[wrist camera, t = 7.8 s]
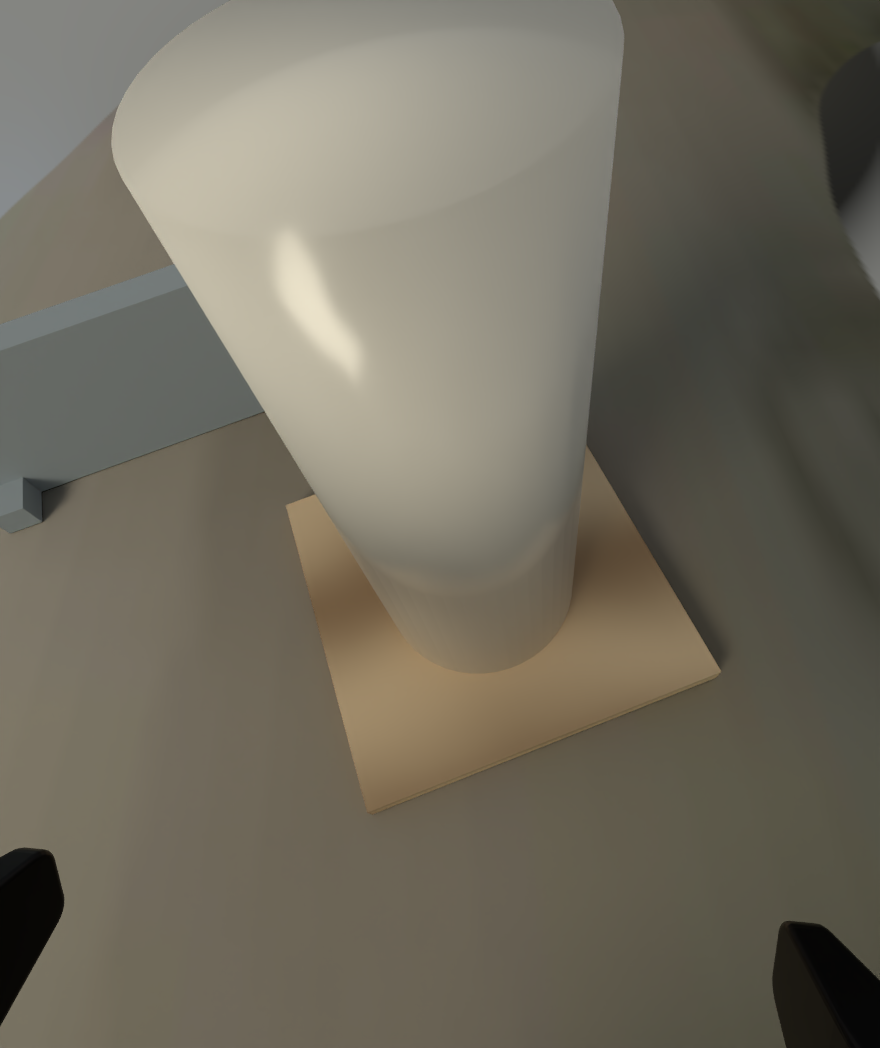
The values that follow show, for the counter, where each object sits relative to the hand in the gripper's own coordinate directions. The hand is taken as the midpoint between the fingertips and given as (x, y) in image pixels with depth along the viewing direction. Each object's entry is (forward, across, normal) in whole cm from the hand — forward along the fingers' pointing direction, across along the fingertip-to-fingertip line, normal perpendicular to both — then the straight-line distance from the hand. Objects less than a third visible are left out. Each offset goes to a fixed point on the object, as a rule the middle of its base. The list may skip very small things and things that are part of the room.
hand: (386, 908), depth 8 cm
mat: (+12, 0, +1) cm, 12 cm away
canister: (+12, 0, 0) cm, 12 cm away
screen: (+16, +12, -4) cm, 21 cm away
